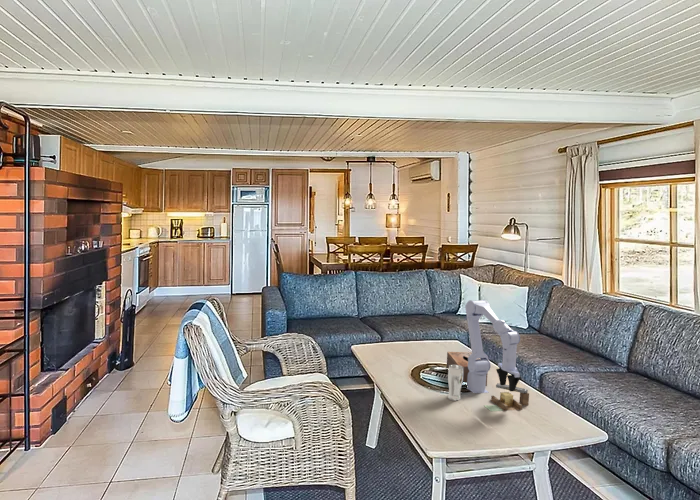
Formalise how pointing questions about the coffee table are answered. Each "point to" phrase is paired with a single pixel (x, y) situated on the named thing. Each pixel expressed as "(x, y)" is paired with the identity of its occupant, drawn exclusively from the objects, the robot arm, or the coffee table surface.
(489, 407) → the pad
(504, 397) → the tan cube
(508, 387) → the lever
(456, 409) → the coffee table surface
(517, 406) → the body
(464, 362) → the tissue box cover
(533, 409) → the coffee table surface
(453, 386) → the beer glass
